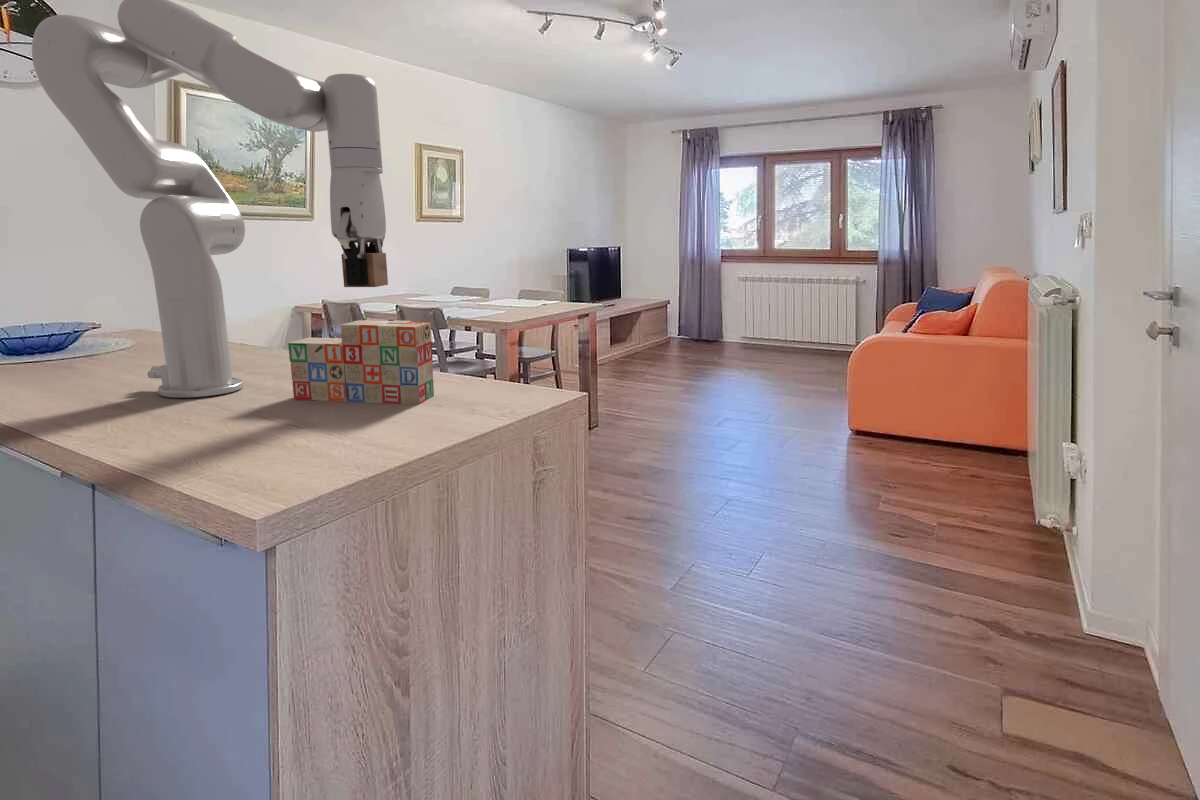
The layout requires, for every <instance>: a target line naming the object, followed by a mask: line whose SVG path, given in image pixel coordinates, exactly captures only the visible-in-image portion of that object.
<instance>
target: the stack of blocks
mask: <svg viewBox="0 0 1200 800" xmlns="http://www.w3.org/2000/svg"><path fill="white" fill-rule="evenodd" d="M340 334H341V335H340V336H341V337H340V338H338V337H305V338H300V339H299V340H298V339H297V340H295V341H291V342H290V341H289V342H288V343H287V347H288V355H289V357H288V358H289V362H290V370H291V371H290V372H291V381H292V392H293V393H292V394H293V399H294V400H303V401H304V400H306V401H310V400H311V401H322V402H325V401H327V402H329V401H330V402H341V403H342V402H348V403H352V402H353V403H373V404H375V403H376V404H377V403H378V404H400V405H401V404H402V405H421V404H424V403H425V402H426V401H428V400H430V399H431V398H434V396H435V394H434V393H435V392H434V391H435V389H434V370H433V368H434V367H433V342H432V323H431V322H428V321H427V322H425V321H424V322H422V321H412V320H396V319H395V320H367V319H365V320H361V319H360V320H354V321H350V322H346V323H344V324H343V323H342V324H340Z"/></svg>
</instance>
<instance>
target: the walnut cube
mask: <svg viewBox="0 0 1200 800" xmlns="http://www.w3.org/2000/svg"><path fill="white" fill-rule="evenodd" d="M363 259H367V272H368V285H359V286H350V285H348V284H347V276H346V264H345V259H344V257H343V253H342V254H341V265H342V277H343V288H376V287H377V288H378V287H383V286H388V285H389V280H388V265H387V253H386V252H383V253H364V257H363Z"/></svg>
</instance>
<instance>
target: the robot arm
mask: <svg viewBox="0 0 1200 800" xmlns="http://www.w3.org/2000/svg"><path fill="white" fill-rule="evenodd" d="M117 21H118V25H119V27H120V29H117V28H115V27H112V26H109V25H106V24H103V23H101V22H97V21H95V20H92V19H89V18H85V17H81V16H78V15H69V14H57V15H52V16H48V17H46V18H45V19H43V20H41V21H40V22H39V24H38V25H37V27H36V28H35V31H34V33H33V37H32V41H31V42H32V43H31V58H32V64H33V68H34V71H35V72H34V73H35V75H36V77H37V79H38V81H39V83H40V86H41V87H42V89H43V90H44V91H45V94H46V95H47V96H48V98H49V99H50V100H51V102H52V103H53V105H55V106H56V108H57V109H58V110H59V111H60V113H61V114H62V115H63V116H64V118H65V119H66V120H67V121H68V123H70V125H71V126H72V127H73V129H74V130H75V131H76V133H77V134H78V135H79V137H80V138H81V139H82V141H83V143H84V144H85V145H86V147H87V148H88V149H89V151H90V152H91V154H92V155H93V156H94V158H95V159H96V161H98V163H99V164H100V166H101V167H102V168H103V170H104V171H105V172H106V175H108V176H109V178H110V179H111V181H112V182H113V183H114V185H116V187H117V188H118V189H119V190H120V191H121V192H123V194H125V195H127V196H128V197H132V198H137V199H143V200H151V201H149V202H148V203H147V204H146V205H145V207H144V208H143V209H142V211H141V215H140V217H139V218H140V219H139V230H140V235H141V239H142V242H143V244H144V247H145V249H146V253H147V255H148V260H149V262H150V267H151V270H152V271H151V272H152V275H153V283H154V288H155V289H154V290H155V296H156V303H157V309H158V318H159V325H160V330H161V332H160V333H161V339H162V347H163V353H164V363H165V364H162V365H153V366H152V367H150V369H149V370H148V372H147V377H148V378H149V379H161V385H159V386H158V388H157V390H158V391H157V392H158V395H160V396H161V397H165V398H174V399H177V398H179V399H180V398H181V399H185V398H186V399H187V398H188V399H189V398H203V397H211V396H212V397H213V396H219V395H226V394H229V393H232V392H237V391H238V390H240V389H241V390H242V388H243V387H244V381H243V379H241V378H238V377H234V376H233V372H232V363H231V356H230V355H231V354H230V346H229V337H228V328H227V321H226V310H225V303H224V295H223V287H222V281H221V278H220V274H219V271H218V269H217V266H216V264H215V262H214V259H213V258H212V256H218V255H219V256H220V255H225V254H229V253H231V252H234V251H235V250H238V248H239V247H240V246H241V245H242V243H243V241H244V240H245V239H244V238H245V234H246V227H245V221H244V218H243V216H242V214H241V212H240V210H239V208H238V207H237V205H236V204H235V202H234V201H233V199H232V198H231V197H230V195H229V193H228V192H227V191H226V190H225V188H224V187H223V186H222V184H221V182H220V181H219V180H218V179H217V177H216V176H215V174H214V173H213V172H212V170H211V169H210V168H209V167H208V165H207V164H206V162H205V161H204V160H203V159H202V158H201V157H200V155H198V154H197V153H196V152H195V151H194V150H191V148H188V147H187V146H185V145H183V144H180V143H176V142H173V141H167V140H162V139H159V138H156V137H154V136H152V134H151V133H149V132H148V131H147V129H146V128H145V127H144V126H143V124H142V123H141V122H140V120H139V119H138V118H137V116H136V115H135V113H134V112H133V110H131V108H130V107H129V106H128V104H126V102H124V100H123V99H122V98H120V97H119V95H117V94H116V93H115V92H114V91H113V90H111V89H110V88H109V87H108V86H107V85H106V84H109V85H114V86H117V87H121V88H126V89H141V88H145V87H146V88H147V87H149V86H151V85H154V84H158V83H161V82H163V81H166V80H168V79H171V78H174V77H176V76H179V75H181V74H185V75H188V76H190V77H191V78H193V79H195V80H197V81H199V82H200V83H203V84H205V85H207V86H208V87H209V88H210V89H212V90H213V91H215V92H217V93H218V94H220V95H222V96H223V97H224V98H226V99H228V100H230V101H232V102H233V103H236V104H237V105H239V106H241V107H243V108H245V109H247V110H249V111H251V112H253V113H255V114H256V115H258V116H261V117H263V118H265V119H267V120H268V121H272V122H274V123H276V124H280V125H283V126H287V127H292V128H296V129H299V130H302V131H308V132H313V133H314V132H315V133H316V132H317V133H319V132H325V131H327V141H328V143H327V144H328V155H329V163H330V185H329V209H330V211H329V212H330V228H331V235H332V236H333V237H334V238H335V239H337V241H338V242H339V244H340V247H341V248H342V251H343V252H342V254H343V257H344V259H345V264H346V276H347V284H348V285H350V286H359V285H368V272H367V259H363V257H364V253H384V252H383V246H384V245H383V244H384V241H385V238H386V233H387V231H386V230H387V228H386V227H387V224H386V223H387V222H386V209H385V202H384V192H383V186H382V180H381V175H382V174H384V173H383V171H384V170H383V159H382V158H383V157H382V145H381V131H380V120H379V119H380V117H379V104H378V94H377V93H378V92H377V87H376V83H375V82H374V80H373V79H371V78H370V77H369V76H365V75H362V74H356V73H337V74H336V73H335V74H332V75H331V74H330V75H328V76H327V77H326V78H325V80H324V81H322V80H321V81H320V80H317V79H314V78H311V77H309V76H305V75H303V74H300V73H298V72H295V71H293V70H290V69H287V68H285V67H284V66H281V65H279V64H277V63H275V62H272V61H271V60H269V59H266V58H265V57H263V56H261V55H259V54H257V53H255V52H253V51H251V50H250V49H248V48H246V47H244V46H242V45H240V42H239V40H238V38H237V37H236V36H235V34H233V33H231V32H230V31H228V30H226V29H224V28H222V27H220V26H218V25H216V24H214V23H212V22H210V21H208V20H207V19H204V18H203V17H202V16H201V15H200V14H198V13H197V12H195V11H194V10H193V9H190V8H187V7H185V6H183V5H181V4H178V3H176V2H173V1H171V0H123V1H121V3H120V4H119V6H118V11H117ZM356 244H357V245H356Z"/></svg>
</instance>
